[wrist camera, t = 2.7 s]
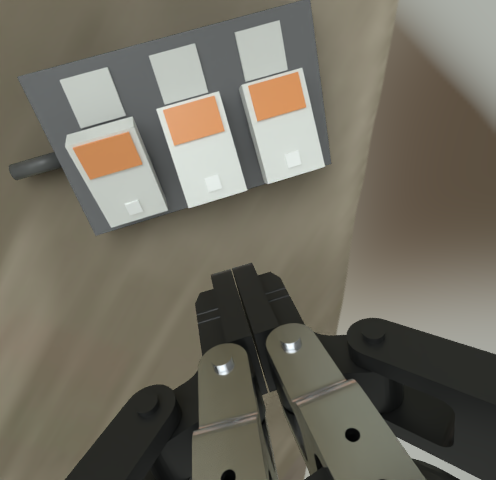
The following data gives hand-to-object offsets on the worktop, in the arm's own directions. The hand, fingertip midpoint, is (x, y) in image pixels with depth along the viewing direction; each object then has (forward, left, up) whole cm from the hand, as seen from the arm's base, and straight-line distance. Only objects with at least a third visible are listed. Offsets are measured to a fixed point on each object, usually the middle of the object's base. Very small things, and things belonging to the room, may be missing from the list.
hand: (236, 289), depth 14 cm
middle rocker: (-1, +1, -16) cm, 16 cm away
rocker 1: (-1, -5, -16) cm, 17 cm away
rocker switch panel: (-2, -1, -22) cm, 22 cm away
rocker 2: (-1, +7, -16) cm, 18 cm away
